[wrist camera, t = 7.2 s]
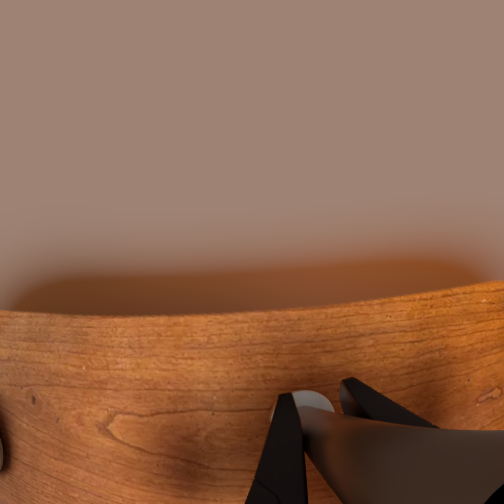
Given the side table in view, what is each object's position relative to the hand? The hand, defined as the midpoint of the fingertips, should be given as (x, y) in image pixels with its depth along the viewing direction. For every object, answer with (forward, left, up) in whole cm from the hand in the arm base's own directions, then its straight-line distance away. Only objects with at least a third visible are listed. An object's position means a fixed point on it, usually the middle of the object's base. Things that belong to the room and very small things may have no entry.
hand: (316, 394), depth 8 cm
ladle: (-1, +1, -8) cm, 8 cm away
